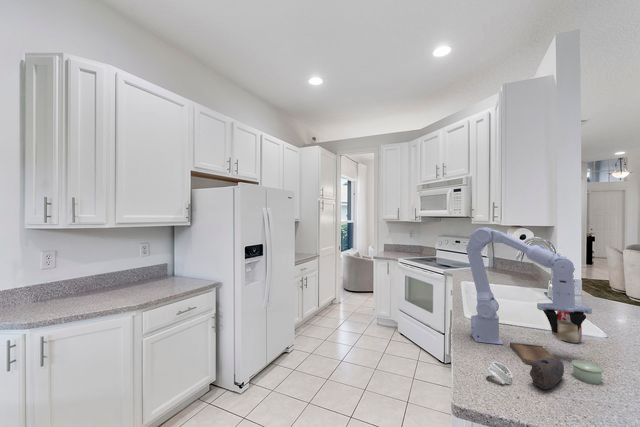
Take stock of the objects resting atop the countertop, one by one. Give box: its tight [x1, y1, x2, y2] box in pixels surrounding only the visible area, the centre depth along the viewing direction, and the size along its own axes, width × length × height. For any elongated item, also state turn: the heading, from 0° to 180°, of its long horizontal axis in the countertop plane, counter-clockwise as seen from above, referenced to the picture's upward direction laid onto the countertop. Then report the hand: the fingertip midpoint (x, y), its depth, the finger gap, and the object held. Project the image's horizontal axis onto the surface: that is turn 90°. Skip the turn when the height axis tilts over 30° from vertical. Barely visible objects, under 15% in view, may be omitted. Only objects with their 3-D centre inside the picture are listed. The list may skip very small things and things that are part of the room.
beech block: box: [551, 320, 578, 341], centre depth 93 cm, size 5×5×5 cm
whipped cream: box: [485, 361, 514, 385], centre depth 81 cm, size 8×7×5 cm
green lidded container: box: [571, 359, 603, 385], centre depth 81 cm, size 7×7×4 cm
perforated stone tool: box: [529, 357, 565, 390], centre depth 79 cm, size 15×5×7 cm, turn 117°
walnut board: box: [509, 341, 557, 366], centre depth 94 cm, size 10×14×1 cm
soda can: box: [556, 311, 583, 344], centre depth 107 cm, size 7×7×12 cm
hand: (564, 332), depth 93 cm, fingers closed on beech block, 5 cm apart
